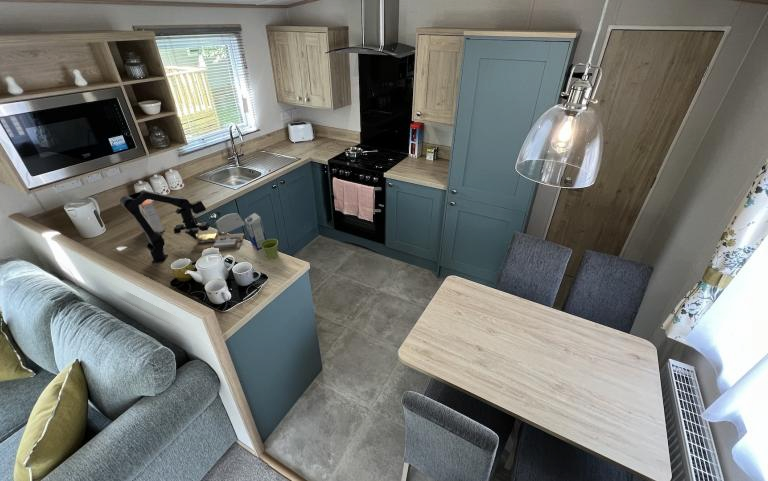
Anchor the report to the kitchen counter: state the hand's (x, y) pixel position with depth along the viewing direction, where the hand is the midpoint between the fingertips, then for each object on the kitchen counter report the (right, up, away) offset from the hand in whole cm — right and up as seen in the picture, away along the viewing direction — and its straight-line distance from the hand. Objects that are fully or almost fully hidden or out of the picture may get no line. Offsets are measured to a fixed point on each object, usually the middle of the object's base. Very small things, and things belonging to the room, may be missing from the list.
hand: (196, 239), depth 208 cm
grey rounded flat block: (+14, +8, +15) cm, 22 cm away
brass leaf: (+6, 0, +1) cm, 6 cm away
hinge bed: (+14, -2, -1) cm, 15 cm away
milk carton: (+40, -4, -4) cm, 40 cm away
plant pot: (+51, -10, -13) cm, 53 cm away
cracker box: (-35, +7, +16) cm, 39 cm away
